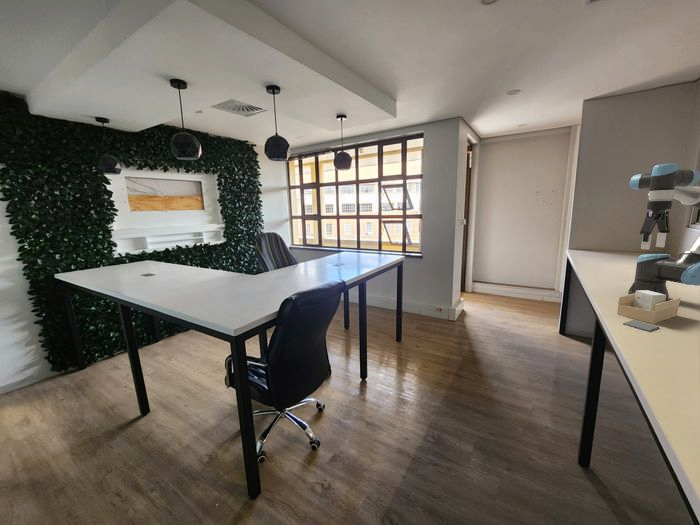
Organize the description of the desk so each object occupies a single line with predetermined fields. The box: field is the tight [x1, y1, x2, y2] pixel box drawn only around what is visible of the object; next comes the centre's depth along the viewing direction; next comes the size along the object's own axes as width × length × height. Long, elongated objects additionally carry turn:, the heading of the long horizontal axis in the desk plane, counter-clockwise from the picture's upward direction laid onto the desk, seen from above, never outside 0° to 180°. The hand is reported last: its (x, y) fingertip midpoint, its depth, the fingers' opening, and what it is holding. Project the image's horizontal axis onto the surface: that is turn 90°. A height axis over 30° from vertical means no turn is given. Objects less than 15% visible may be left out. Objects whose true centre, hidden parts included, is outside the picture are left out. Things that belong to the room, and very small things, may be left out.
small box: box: [634, 290, 666, 312], centre depth 127 cm, size 8×6×10 cm
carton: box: [616, 293, 681, 325], centre depth 127 cm, size 21×12×8 cm, turn 114°
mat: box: [622, 319, 660, 333], centre depth 116 cm, size 8×8×1 cm
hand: (652, 248), depth 132 cm, fingers open, 13 cm apart
